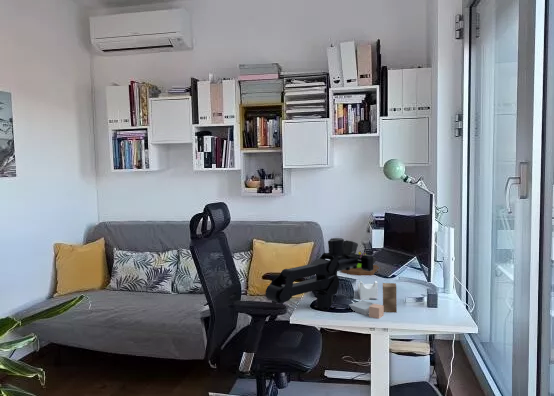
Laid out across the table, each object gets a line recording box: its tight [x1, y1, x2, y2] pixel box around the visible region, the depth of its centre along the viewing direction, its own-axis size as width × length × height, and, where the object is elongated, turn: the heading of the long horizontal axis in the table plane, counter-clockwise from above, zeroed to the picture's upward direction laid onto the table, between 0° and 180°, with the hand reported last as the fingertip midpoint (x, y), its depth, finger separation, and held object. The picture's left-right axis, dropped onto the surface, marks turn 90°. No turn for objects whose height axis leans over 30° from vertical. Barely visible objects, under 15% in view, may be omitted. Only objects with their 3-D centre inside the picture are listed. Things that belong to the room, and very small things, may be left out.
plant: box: [341, 250, 379, 277], centre depth 246 cm, size 20×20×11 cm
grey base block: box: [348, 300, 375, 315], centre depth 183 cm, size 8×8×2 cm
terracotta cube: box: [368, 303, 385, 319], centre depth 175 cm, size 4×4×4 cm
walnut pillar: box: [382, 282, 398, 314], centre depth 182 cm, size 5×5×10 cm
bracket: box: [357, 280, 379, 301], centre depth 202 cm, size 13×7×8 cm, turn 175°
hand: (367, 257), depth 201 cm, fingers open, 9 cm apart
